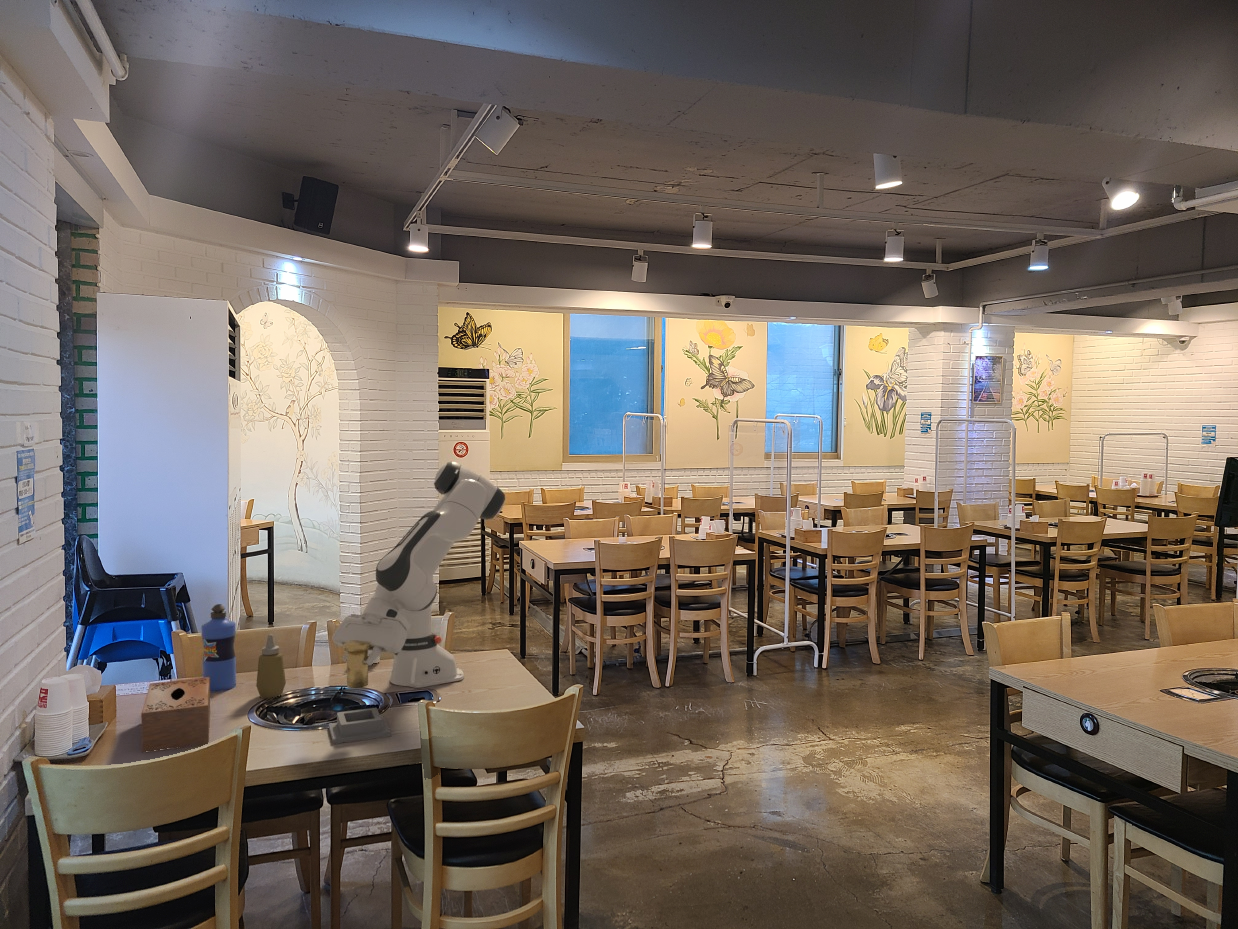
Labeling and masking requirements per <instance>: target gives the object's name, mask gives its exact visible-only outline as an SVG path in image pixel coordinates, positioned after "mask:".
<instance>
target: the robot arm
mask: <svg viewBox="0 0 1238 929" xmlns="http://www.w3.org/2000/svg"><path fill="white" fill-rule="evenodd" d="M433 486H434V488H435V490H436V491H437V492H438V493H439V494H441V495H443V496H442V498H441V499H440V500H439V501H438V503H437V504H436V505H435V507H434V508H433V509H432V510H430V511H427V512H426V513H425V514H423V515H422V516H421V517H420V518H419V519H418V520H417V521H416V522H415V523H414V524H413V525H412V527H410V529H409V530H408V531H407V532H406V533H405V535H404V536H403V537H402V538H401V539H400V540H399V542H398V543H397V544H396V545H395V546H394V547H393V548H392V549H391V550H390V551H389V552H387V553H386V554H385V555H384V556H383V557H382V558H381V559H380V560H379V561H378V563H377V564H376V568H375V580H376V582H377V585H376V588H375V592H374V594H373V595H372V597H370V598H369V600H368V602H367V605H366V606H365V608H364V610H363V612H362V614H356V613H351V614H350V615H347V616H345V617H344V619H343V620H342V621H341V623H340V624H339V625H338V627H337V628H336V629H335V631H334V633H333V634H332V636H331V638H332V641H333V642H334V644H335V645H336V646H338V647H342V648H344V643H345V642H347V641H351V640H357V641H366V642H370V649H368V650H372V651H373V652H372V653H371V654H370V655H369V656H365V659H364V660H363V663H364V664H365V665H368V666H372V665H371V664H372V662H373V660H375V659H376V658H377V657H378V656H380V657H381V654H382V653H388V654H389V653H390V654H393V656H394V657H393V664H392V670H391V675H390V677H389V682H390V683H391V684H393V685H396V686H401V687H403V686H404V687H411V688H414V689H417V688H418V689H420V688H424V687H431V686H437V685H441V684H446V683H447V684H448V683H452V682H453V683H454V682H458V681H462V680H464V678H465V674H464V672H463V670H462V669H461V668H459V667H457V663H456V659H455V657H454V655H453V654H452V653H450V652H449V651H448V650H446V649H445V648H443V647H442V646H440V645H439V644H441V643H442V640H443V639H442V637H440V636H439V635H437V634H435V633H434V632H432V604H433V602H435V600H436V596H437V594H438V586H437V583H435V581H434V574H435V573H436V571H437V570H438V568H439V567H440V565H441V564H442V562H443V560H444V559H445V558H446V556H447V555H448V553H449V551H450V550H451V548H452V547H453V546H454V544H455V542H461V541H463V540H465V539H467V538H468V537H469V536H471V534H472V532H473V531H474V529H475V527H476V526H477V523H478V522H479V520H480V519H482V520H493V519H494V518H495V517H496V516H498V515H499V514H500V513H501V511H502V510H503V508H504V506H505V501H506V495H505V494H506V493H504V492H503V491H502V489H501V488H499V487H497V486H495V485H494V484H493V483H492V482H491V481H489V480H488V479H486V478H485V477H483V476H482V475H479V474H477V473H476V472H475V471H472V470H470V469H468V468H466V467H464V466H462V464H461V463H458V462H456V461H448V462H447V463H446V464H444V465H443V466H441V467H440V468H439V469H438V470H437V472H436V474H435V478H434V482H433ZM343 650H344V649H343ZM343 652H344V655H343V656H342V659H341V661H343V663H347V651H345V650H344V651H343Z"/></svg>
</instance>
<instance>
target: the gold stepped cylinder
mask: <svg viewBox="0 0 1238 929" xmlns="http://www.w3.org/2000/svg"><path fill="white" fill-rule="evenodd" d="M368 649H370V642H366V641H357V640H351V641H347V642H345V643H344V647H343V650H345V651H347V662H346V686H347V687H348V688H351V689H360V688H365V687H367V686H368V685H369V669H368V668H369V665H365V664H364V663H363V660H364V659H365V656H368Z"/></svg>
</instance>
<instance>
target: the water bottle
mask: <svg viewBox="0 0 1238 929" xmlns="http://www.w3.org/2000/svg"><path fill="white" fill-rule="evenodd" d="M225 609H226V607H225V606H224V605H223V604H222V603H220V604H219V603H218V604H217V603H216V604H214V605H213V607H212V608H211V612H210V620H209V621H208V622H206V623H203V624H202V625H201V629H200V630H201V638H202V645H203V654H202V678H204V677H210V693H213V692H214V693H217V692H225V691H229V690H232V689H234V688H236V687H237V665H236V664H237V663H236V660H237V659H236V653H235V642H236V640H235V638H236V634H237V629H236V628H237V626H236V623H237V622H235V621H233V620H230V619H227V618H226V617H227V611H226V610H225Z"/></svg>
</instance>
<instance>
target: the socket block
mask: <svg viewBox="0 0 1238 929" xmlns="http://www.w3.org/2000/svg"><path fill="white" fill-rule="evenodd" d="M328 730H329V731H328V732H329V734H330V738H331V740H332V741H333V742H332V741H331V742H332V745H336V744H335V743H338V744H344V743H343V742H345V743H351V741H352V742H357V741H358V742H359V741H366V740H371V739H379V738H386V737H387V738H388V737H392V735H391V734H392V731H391V729H390V726H389V725H388V722H387V720H386V719H385V717H384V716H381V714H380V713H379V711H378V708H377V707H370V708H363V709H362V708H361V709H354V710H347V711H346V710H345V711H340V712H336V722H333V723H332V722H331V723H328Z"/></svg>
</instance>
